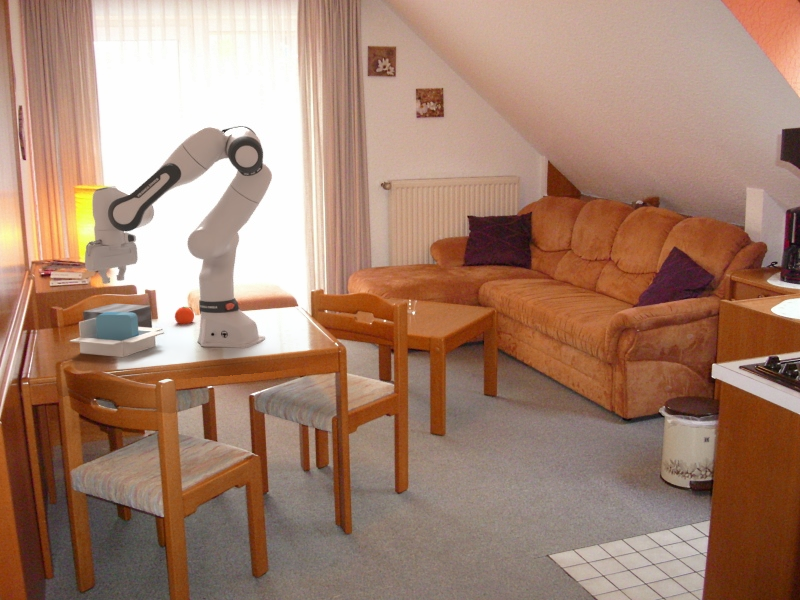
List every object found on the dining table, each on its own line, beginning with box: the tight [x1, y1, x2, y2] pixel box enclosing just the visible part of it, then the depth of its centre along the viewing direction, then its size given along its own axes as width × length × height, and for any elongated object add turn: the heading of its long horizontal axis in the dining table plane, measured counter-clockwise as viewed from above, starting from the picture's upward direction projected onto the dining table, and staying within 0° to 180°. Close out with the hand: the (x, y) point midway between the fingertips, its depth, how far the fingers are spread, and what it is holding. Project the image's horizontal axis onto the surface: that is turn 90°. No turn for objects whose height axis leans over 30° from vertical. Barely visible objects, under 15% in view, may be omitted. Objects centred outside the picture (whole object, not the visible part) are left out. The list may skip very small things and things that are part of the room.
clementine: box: [174, 306, 195, 325], centre depth 293 cm, size 8×7×7 cm
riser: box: [82, 303, 153, 328], centre depth 280 cm, size 16×16×9 cm
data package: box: [96, 312, 139, 341], centre depth 255 cm, size 12×4×12 cm, turn 82°
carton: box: [69, 318, 165, 358], centre depth 254 cm, size 21×24×10 cm
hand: (113, 281), depth 252 cm, fingers open, 5 cm apart
